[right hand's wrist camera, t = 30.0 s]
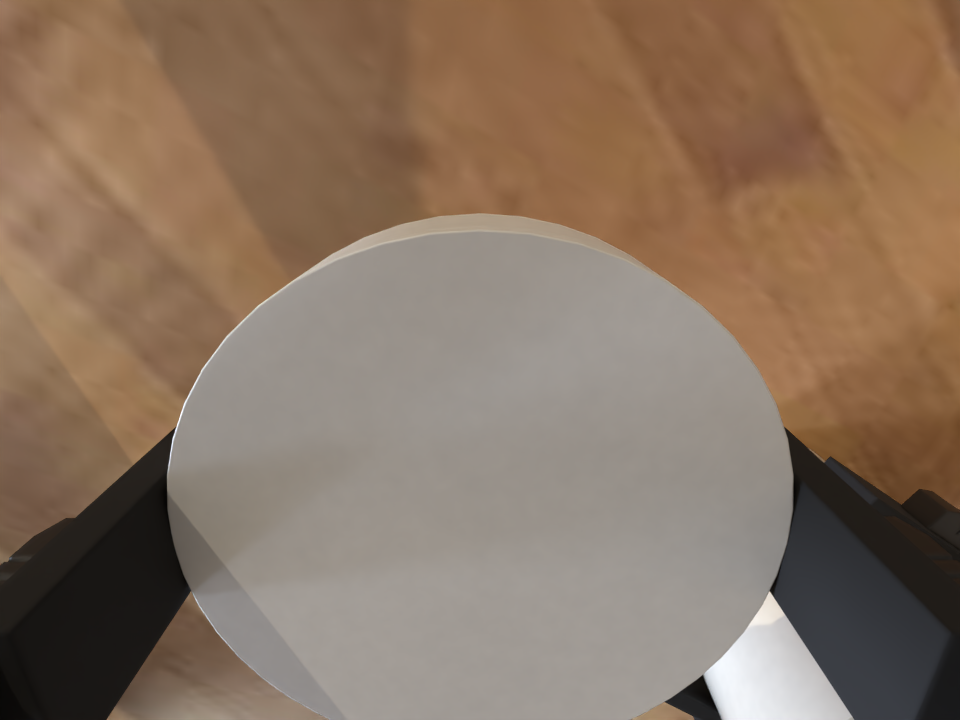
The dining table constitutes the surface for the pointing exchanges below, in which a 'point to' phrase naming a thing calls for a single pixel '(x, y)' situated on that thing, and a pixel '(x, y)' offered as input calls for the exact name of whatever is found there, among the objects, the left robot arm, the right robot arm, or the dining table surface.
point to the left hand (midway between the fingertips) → (741, 580)
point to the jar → (772, 674)
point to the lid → (480, 480)
